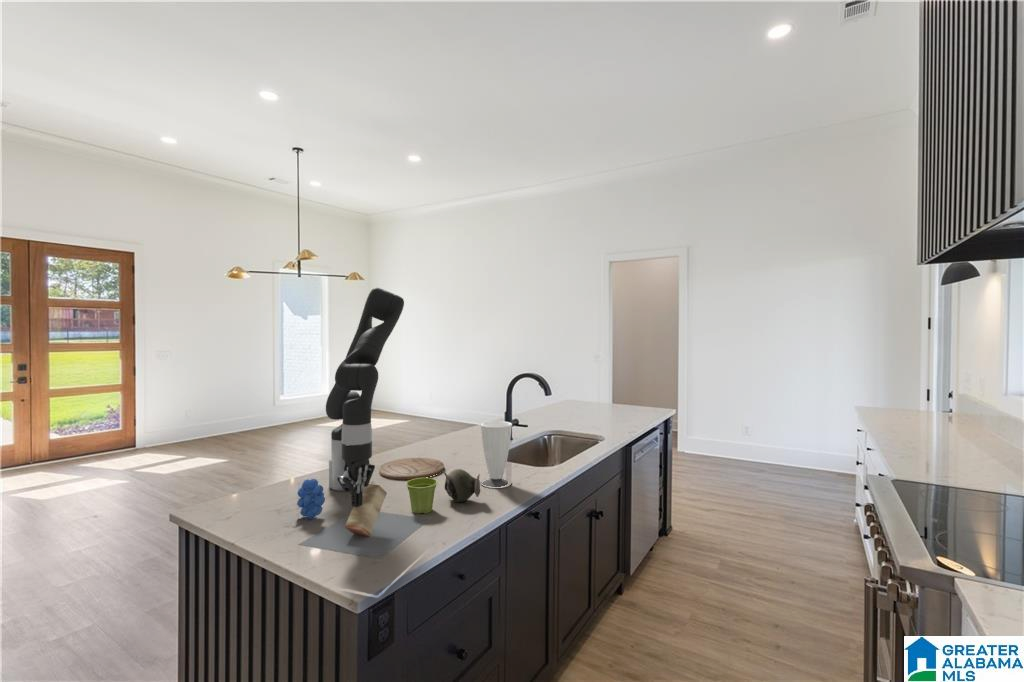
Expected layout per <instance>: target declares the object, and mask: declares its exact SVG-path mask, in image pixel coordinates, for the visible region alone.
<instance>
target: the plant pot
mask: <svg viewBox="0 0 1024 682" xmlns="http://www.w3.org/2000/svg"><path fill="white" fill-rule="evenodd" d="M406 481H407V482H405V486H406V487H407V490H408V493H409V501H410V507H411V508H410V509H411V512H412V513H413V514H417V515H420V514H428V513H430V512H432V511H433V506H434V498H435V491H436V488H437V485H438V482H439V481H438V479H435V478H433V477H430V478H416V479H412V480H406Z"/></svg>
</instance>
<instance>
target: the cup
mask: <svg viewBox="0 0 1024 682" xmlns="http://www.w3.org/2000/svg"><path fill="white" fill-rule="evenodd" d="M512 427H513V423H512V422H510V421H505V420H490V421H489V420H488V421H484V422H481V424H480V429H481V439H482V448H483V454H484V458H485V463H486V468H487V471H488V475H489V478H488V479H489V480H486V479H485V480H486V481H484V482H483V483H482V481H480V484H481V483H482V484H483V485H486V486H491V487H501V486H505V485H507V484H508V481H507V480H508V479H507V480H504V479H505V478H504V473H505V470H506V467H507V461H508V458H509V452H510V451H509V450H510V445H511V437H512V436H511V435H512V430H513V429H512ZM502 478H503V479H502Z"/></svg>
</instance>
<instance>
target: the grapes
mask: <svg viewBox="0 0 1024 682" xmlns="http://www.w3.org/2000/svg"><path fill="white" fill-rule="evenodd" d="M297 495H298V496H299V498H298V500H297V502H296V505H297V506H298V508H301V509H300V515H301V516H303V517H306V518H307V519H309V520H314V519H315V518H316V517H317V516H319V515H321V513H322V511H323V507H322V505H324V504H325V501H326V498H325V494H324V487H323V486H322V485H321V484H319V481H318V479H316V478H311V479H304V480H303V482H302V484H301V487H300V488H299V489H298V490H297Z"/></svg>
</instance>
